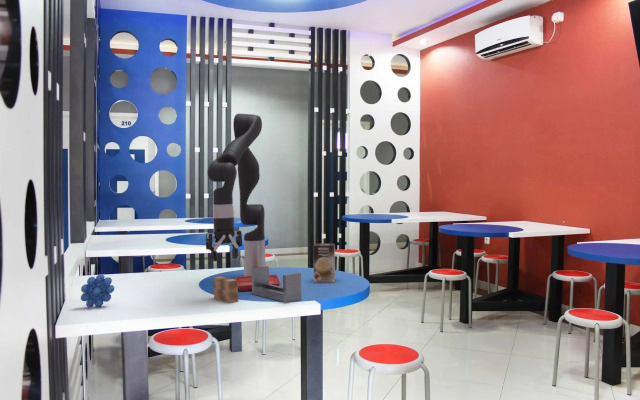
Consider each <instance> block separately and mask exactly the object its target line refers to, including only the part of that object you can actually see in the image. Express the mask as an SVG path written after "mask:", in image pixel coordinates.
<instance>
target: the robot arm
mask: <svg viewBox="0 0 640 400" xmlns="http://www.w3.org/2000/svg"><path fill="white" fill-rule="evenodd" d="M262 128H263V121H262V118H261V116H259V115H257V114H251V113H250V114H249V113H236V114H235V116H234V118H233V134H234V135H233V136H234V139H233V140H231V141H230V142H229V143H228V144H227V145H226V146H225V148H224V150H223V151H222V153H221V154H219V156H218V157H217V158H215V159H214V160H213V161H212V162H211V163H210V164H209V166H208V169H207V177H208V179H209V180H210V181H211V182H215V183H216V182H217V183H221V182H223V185H222V186H221V187H218V188H215V189H214V190H213V193H212V195H213V198H212V200H213V211H212V215H213V216H212V217H213V220H212V221H213V233H206V235H205V249H206V250H207V251H208V250H209V251H210V255H211V257H210V258H211V260H212V261H213V262H218V251H217V250H218V248H219V247H220V246H221V245H224V244H229V245H230V246H231V247H232V248H231V254H232V256H231V258H232V259H237V258H238V256H239V248H240V247H242V246H244V248H243V249H244V256H243V276H252V268H258V267H264V266H266V243H265V242H266V241H265V239H266V238H265V206H264V205H263V204H261V203H259V204H258V203H257V204H251V203H250V204H248V201H249V198H250V196H251V194H252V193H253V191H254V189H255V188H256V186H257V185H258V184H259V180H260V164H259V161H258V160H257V158H256V157H255V155H254V153H253V152H252V150H251V149H250V146H251V145H252V144H253V143H254V141H256V140H257V138H258V137H259V136H260V135H261V132H262ZM236 166H237V167H236ZM237 178H238V185H239V186H238V187H239V188H238V190H239V218H240V222H241V225H243V226H256V228H255V229H253V230H251V231H249V232H245V234H244V235H243V236H242V234H243V233H242V230H234V229H235V216H234V215H235V211H234V204H233V202H234V199H233V193H234V188H235V183H236V179H237ZM234 236H235V238H234ZM213 239H214V240H213Z"/></svg>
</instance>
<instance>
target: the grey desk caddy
mask: <svg viewBox="0 0 640 400" xmlns="http://www.w3.org/2000/svg"><path fill="white" fill-rule="evenodd" d="M269 275H270V266H267V265H265V266H264V267H258V268H252V293H251V294H252V295H255V296H259V297H263V298H265V299H269V300H270V299H271V300H274V301H278V302H281V303H285V304H287V303H292V302H296V301H297V302H298V301H300V300H301V301H302V273H301V272H292V273H287V274H286V273H285V274H282V286H281V285H279V286H276V285H271V284H269Z"/></svg>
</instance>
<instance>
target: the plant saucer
mask: <svg viewBox="0 0 640 400" xmlns="http://www.w3.org/2000/svg"><path fill="white" fill-rule="evenodd" d="M234 280H237V283H238V291H240V292H249V291H252V276H244V275H243V276H241V275H240V276H235V277H234ZM281 283H282V282H281V281H280V279H279V276H278V275H277V274H269V284H271V285H276V286H281Z"/></svg>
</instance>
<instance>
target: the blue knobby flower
mask: <svg viewBox="0 0 640 400" xmlns="http://www.w3.org/2000/svg"><path fill="white" fill-rule="evenodd" d="M112 282H113V279H112V278H111V277H106V276H105V275H104V274H102V273H101V274H98V275H96V277H95V276H90V277H88V278H87V281H86V283H84V284H83V285H82V286H81V288H80V291H81V292H82V294H81V295H80V300H81V301H82V302H86V303H85V305H86V306H87V308H91V307H93V306H95V307H96V308H101V307H102V306H103V304H104V303H108V302H109V301H111V299H112V295H111V294H112V293H113V292H115V286H114V285H113V284H112Z"/></svg>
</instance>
